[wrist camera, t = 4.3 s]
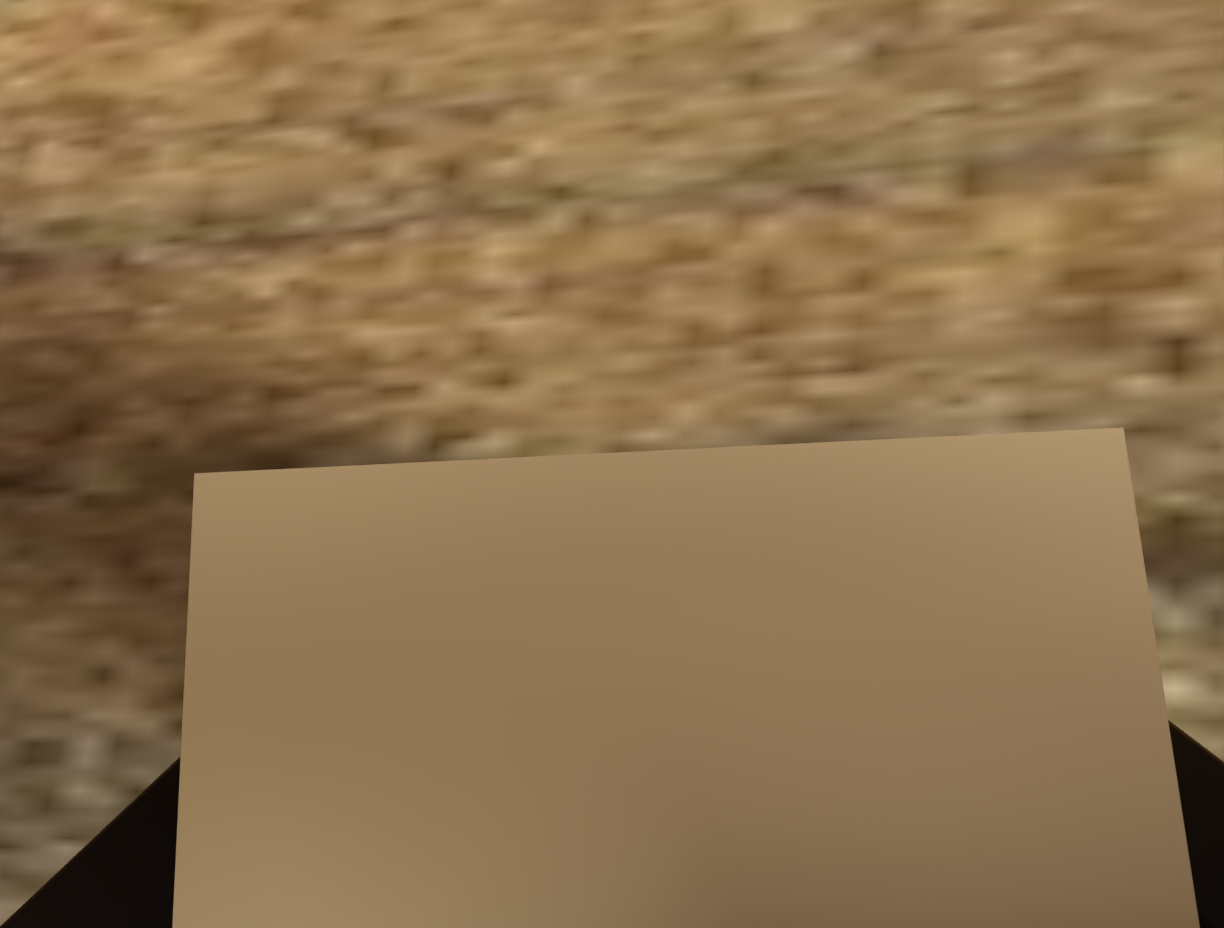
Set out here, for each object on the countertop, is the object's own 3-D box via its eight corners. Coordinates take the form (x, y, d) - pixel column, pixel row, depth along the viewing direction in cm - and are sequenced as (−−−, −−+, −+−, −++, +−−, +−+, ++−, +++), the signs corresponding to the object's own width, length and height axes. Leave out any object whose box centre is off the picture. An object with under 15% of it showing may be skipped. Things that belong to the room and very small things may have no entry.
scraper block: (819, 919, 16) (1296, 1563, 4) (521, 929, 16) (140, 1581, 4) (797, 617, 17) (1123, 428, 5) (516, 629, 17) (195, 472, 5)
